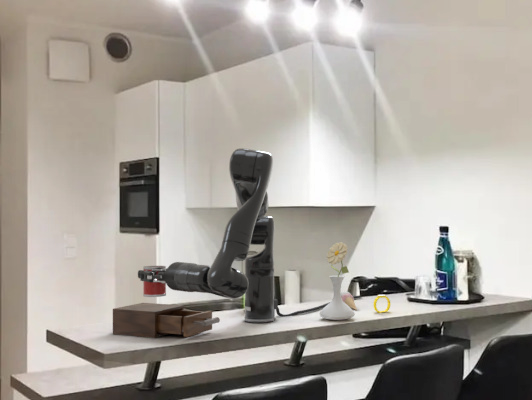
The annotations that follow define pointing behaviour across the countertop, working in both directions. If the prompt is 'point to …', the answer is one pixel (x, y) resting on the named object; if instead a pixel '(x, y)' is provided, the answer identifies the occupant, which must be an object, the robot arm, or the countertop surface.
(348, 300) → the ice cream cone
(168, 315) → the drawer
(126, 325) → the cabinet
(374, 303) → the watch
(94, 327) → the countertop surface
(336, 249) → the flower in vase
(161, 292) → the tin can
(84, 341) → the countertop surface
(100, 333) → the countertop surface
